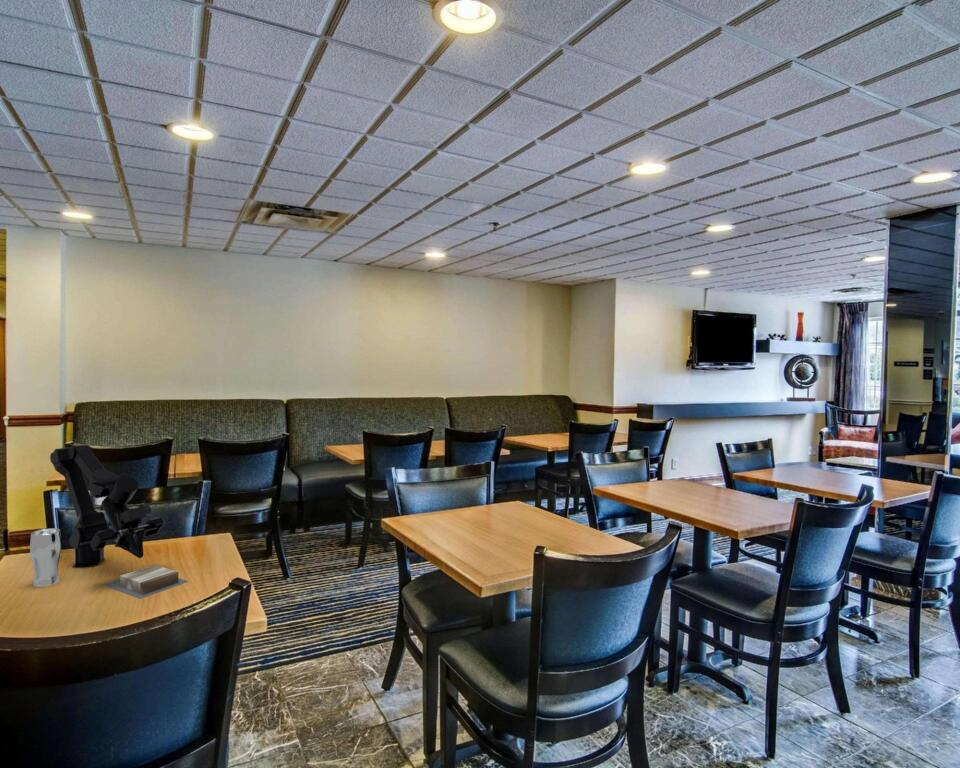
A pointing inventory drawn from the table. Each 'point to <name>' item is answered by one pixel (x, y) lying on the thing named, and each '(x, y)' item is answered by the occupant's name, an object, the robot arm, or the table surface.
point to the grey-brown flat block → (149, 579)
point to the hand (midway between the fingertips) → (141, 557)
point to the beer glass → (45, 556)
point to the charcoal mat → (116, 586)
